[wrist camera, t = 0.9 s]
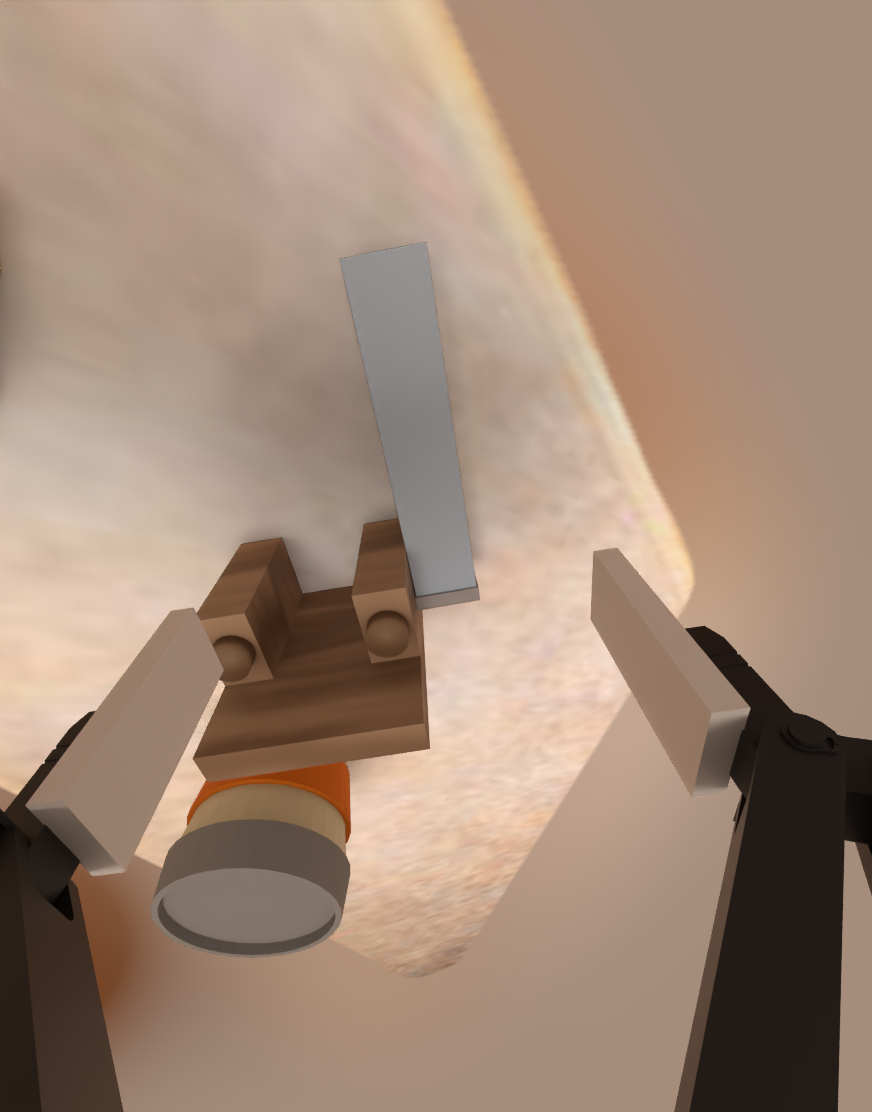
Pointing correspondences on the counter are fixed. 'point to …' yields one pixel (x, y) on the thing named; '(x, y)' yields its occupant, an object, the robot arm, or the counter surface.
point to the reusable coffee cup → (259, 864)
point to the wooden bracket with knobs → (314, 662)
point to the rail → (413, 416)
